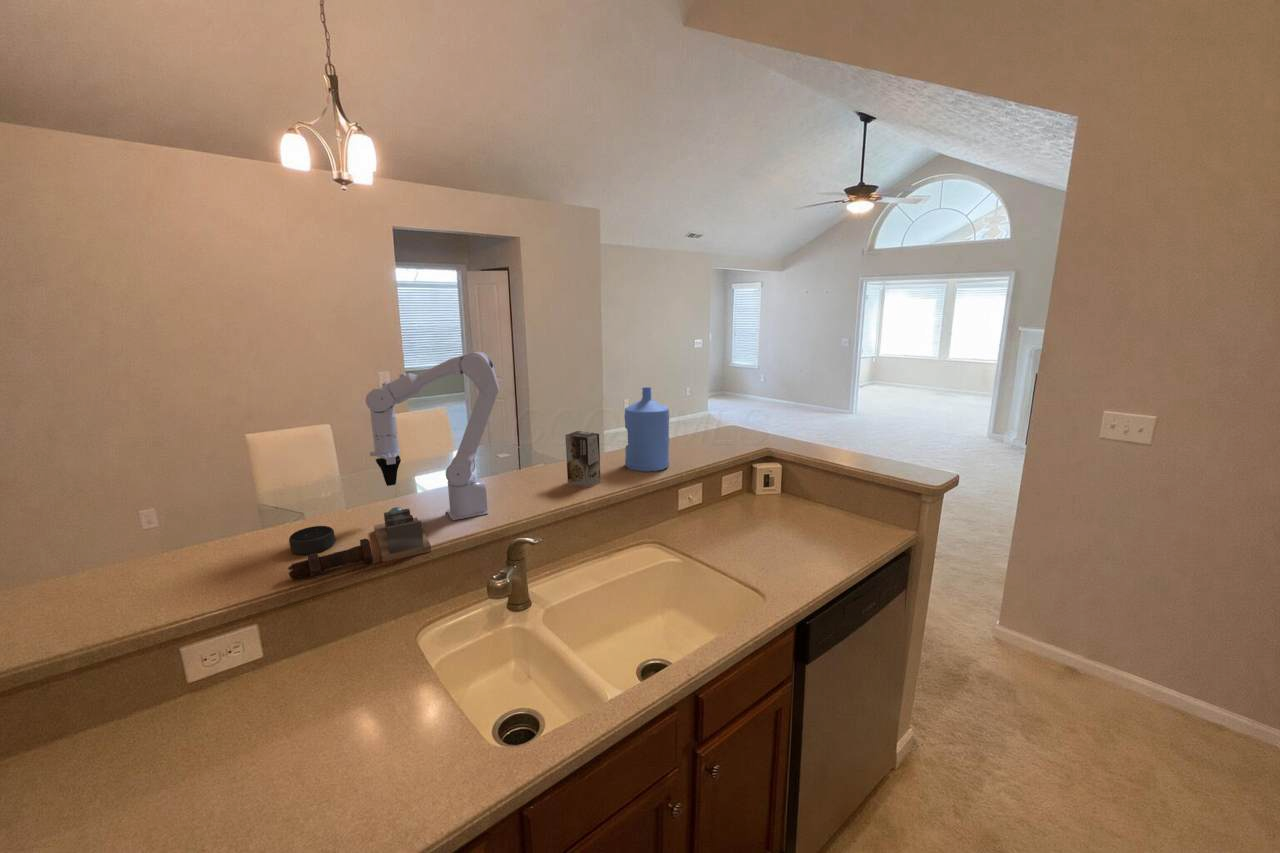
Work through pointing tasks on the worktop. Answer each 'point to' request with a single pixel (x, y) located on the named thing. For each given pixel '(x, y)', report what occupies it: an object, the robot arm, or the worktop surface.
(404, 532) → the bearing rig
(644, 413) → the water jug
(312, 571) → the bolt
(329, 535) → the smart speaker
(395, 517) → the shaft
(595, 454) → the coffee box
